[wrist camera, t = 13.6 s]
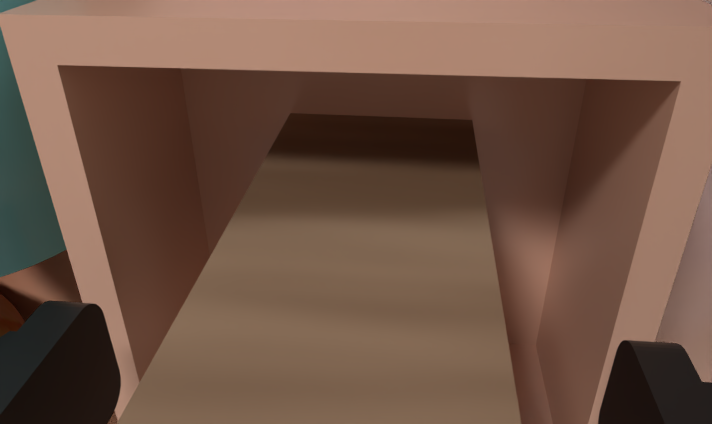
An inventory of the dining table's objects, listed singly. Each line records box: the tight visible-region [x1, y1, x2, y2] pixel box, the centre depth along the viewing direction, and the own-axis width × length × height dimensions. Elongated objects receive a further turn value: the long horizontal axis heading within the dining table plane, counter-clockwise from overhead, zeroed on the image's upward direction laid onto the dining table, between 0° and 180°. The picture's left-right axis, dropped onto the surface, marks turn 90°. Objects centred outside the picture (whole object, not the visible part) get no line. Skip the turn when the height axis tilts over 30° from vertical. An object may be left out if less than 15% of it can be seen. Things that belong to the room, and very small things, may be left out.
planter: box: [0, 0, 712, 424], centre depth 13 cm, size 10×10×5 cm
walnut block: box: [117, 113, 521, 424], centre depth 10 cm, size 4×4×9 cm
